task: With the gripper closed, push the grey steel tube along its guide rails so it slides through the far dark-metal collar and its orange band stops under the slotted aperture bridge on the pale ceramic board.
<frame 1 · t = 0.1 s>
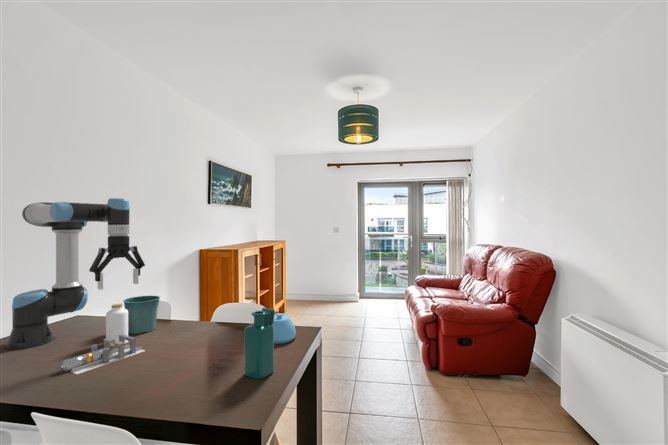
hand: (118, 286, 132), 28 cm above the table, fingers open, 13 cm apart
sugar bowl: (279, 339, 148), on the table
flower pot: (142, 330, 162), on the table
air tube: (87, 363, 120), point 1 cm above the table, touching collar board
teal bottle: (260, 373, 114), on the table
potion bottle: (117, 345, 142), on the table
collar board: (105, 360, 125), on the table
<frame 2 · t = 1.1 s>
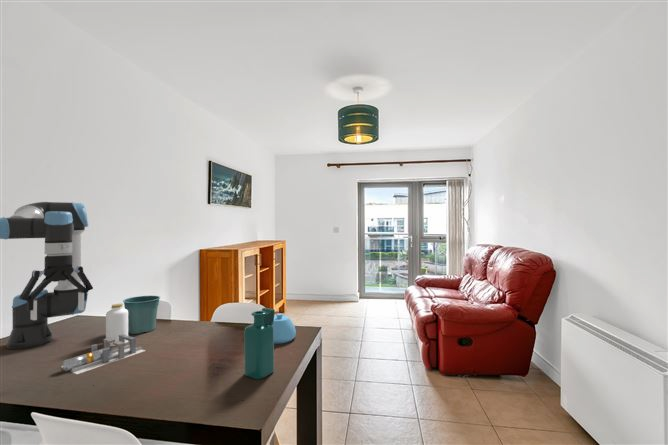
hand: (58, 314, 113), 22 cm above the table, fingers open, 13 cm apart
nothing on the table moved.
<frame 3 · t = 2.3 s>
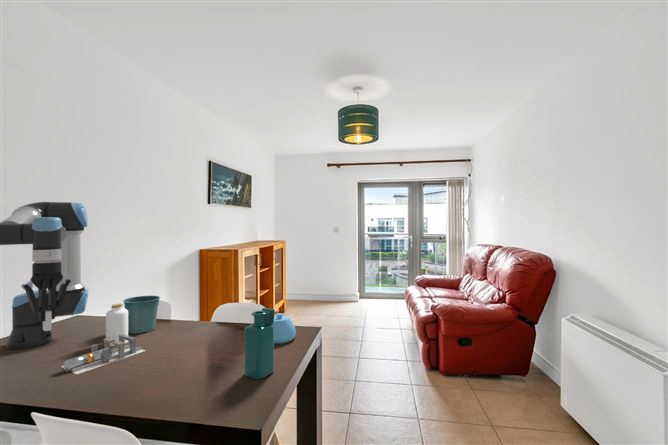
hand: (47, 329, 110), 17 cm above the table, fingers closed
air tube: (87, 363, 120), point 1 cm above the table, tilted 18°, touching collar board
everything else where it was.
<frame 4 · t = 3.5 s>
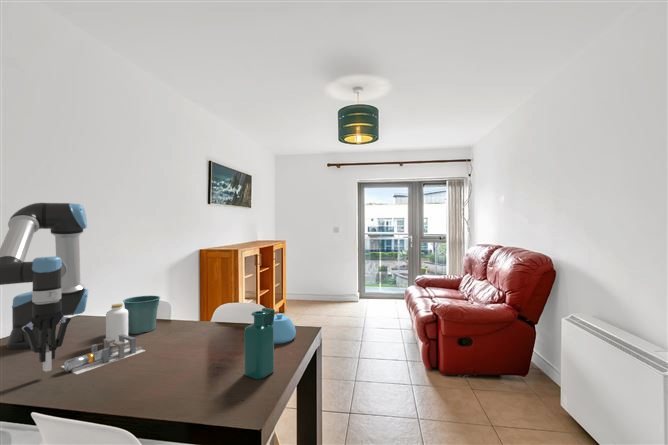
hand: (47, 370, 110), 4 cm above the table, fingers closed
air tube: (87, 363, 120), point 1 cm above the table, tilted 29°, touching collar board
everything else where it was.
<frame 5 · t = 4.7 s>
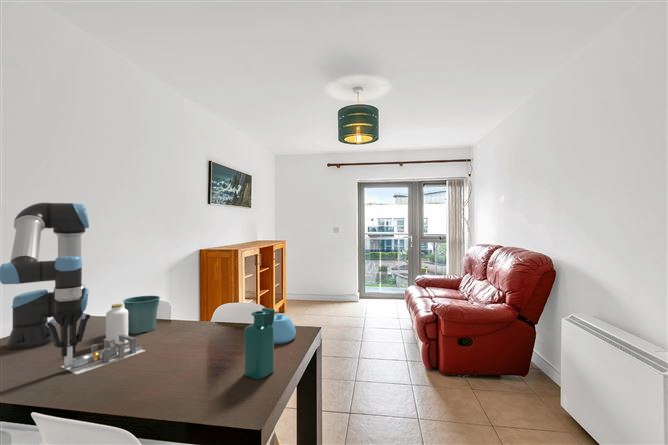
hand: (68, 364, 115), 3 cm above the table, fingers closed
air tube: (93, 361, 121), point 1 cm above the table, tilted 29°, touching gripper
everything else where it was.
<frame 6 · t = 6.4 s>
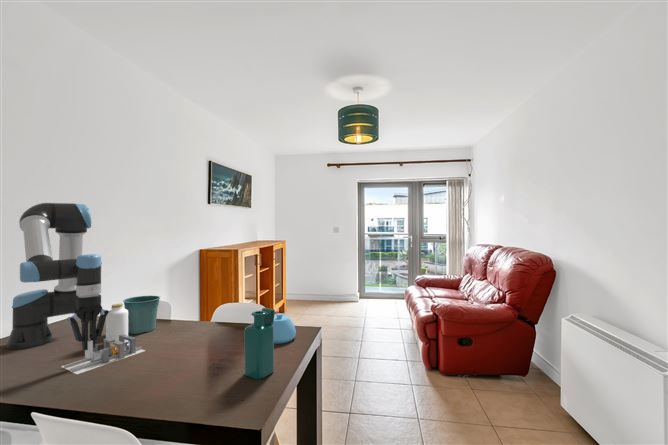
hand: (88, 357, 120), 3 cm above the table, fingers closed
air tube: (111, 355, 127), point 1 cm above the table, tilted 28°, touching collar board, gripper
everything else where it was.
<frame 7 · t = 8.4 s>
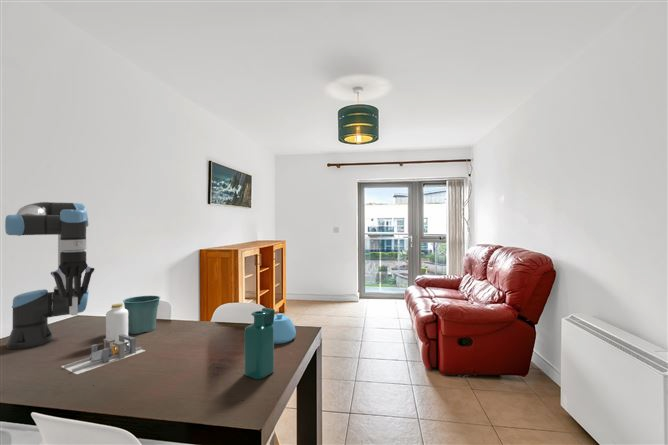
hand: (73, 314, 118), 20 cm above the table, fingers closed
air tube: (111, 355, 127), point 1 cm above the table, tilted 29°, touching collar board
everything else where it was.
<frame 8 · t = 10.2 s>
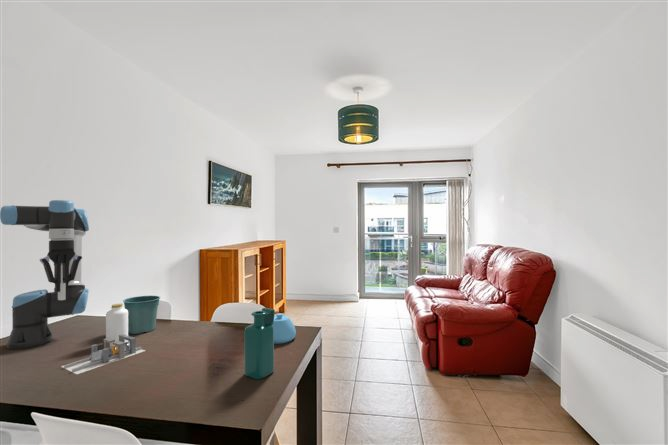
hand: (61, 299, 125), 24 cm above the table, fingers closed
nothing on the table moved.
at the end: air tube 0.9 cm from the target spot on the collar board, point 1.3 cm above the collar board's base; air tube moved 8.1 cm from its start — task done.
